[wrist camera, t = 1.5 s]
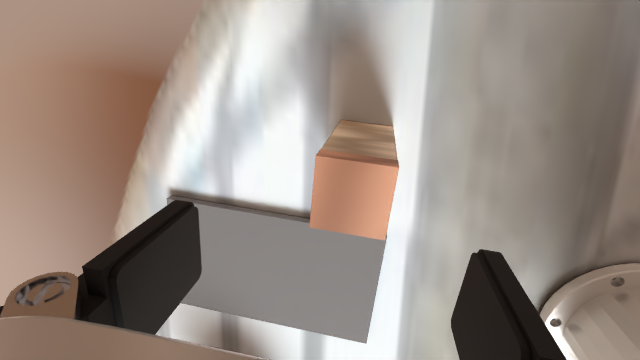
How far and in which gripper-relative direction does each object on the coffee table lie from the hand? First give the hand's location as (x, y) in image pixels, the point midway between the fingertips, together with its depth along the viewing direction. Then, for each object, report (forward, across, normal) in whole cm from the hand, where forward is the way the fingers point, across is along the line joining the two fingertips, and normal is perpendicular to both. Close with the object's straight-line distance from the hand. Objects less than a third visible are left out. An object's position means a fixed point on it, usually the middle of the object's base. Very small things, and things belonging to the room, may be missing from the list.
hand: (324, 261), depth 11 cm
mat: (+16, +6, +13) cm, 22 cm away
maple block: (+16, -1, 0) cm, 16 cm away
